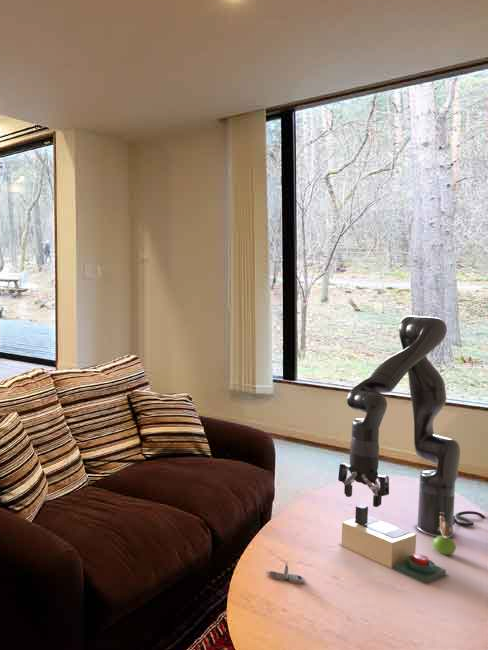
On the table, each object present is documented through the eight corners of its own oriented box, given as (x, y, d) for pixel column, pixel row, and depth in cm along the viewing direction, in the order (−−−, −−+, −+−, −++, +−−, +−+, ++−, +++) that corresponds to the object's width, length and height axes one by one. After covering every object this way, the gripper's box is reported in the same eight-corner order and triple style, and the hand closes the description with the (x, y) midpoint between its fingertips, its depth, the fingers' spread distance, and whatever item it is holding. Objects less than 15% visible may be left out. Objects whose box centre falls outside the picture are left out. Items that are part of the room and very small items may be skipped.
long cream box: (364, 537, 180) (365, 514, 180) (415, 559, 167) (416, 534, 166) (341, 545, 176) (342, 521, 175) (391, 568, 162) (392, 542, 161)
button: (417, 558, 161) (417, 552, 161) (431, 564, 158) (431, 558, 158) (409, 560, 160) (410, 555, 160) (423, 566, 157) (424, 561, 157)
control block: (414, 562, 165) (415, 551, 165) (445, 575, 158) (446, 563, 157) (394, 569, 161) (395, 558, 161) (425, 583, 154) (425, 571, 153)
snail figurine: (450, 549, 172) (452, 513, 171) (457, 559, 166) (460, 521, 165) (429, 546, 174) (431, 510, 173) (435, 555, 168) (437, 518, 167)
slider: (361, 520, 175) (361, 504, 174) (367, 523, 173) (368, 506, 173) (355, 522, 174) (355, 506, 173) (361, 525, 172) (362, 508, 171)
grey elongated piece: (302, 579, 157) (303, 565, 157) (303, 584, 154) (304, 570, 154) (269, 572, 161) (270, 559, 160) (270, 577, 158) (270, 563, 158)
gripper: (395, 457, 166) (393, 507, 168) (349, 444, 179) (347, 491, 181) (380, 460, 163) (378, 512, 165) (334, 447, 176) (332, 495, 178)
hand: (362, 501), depth 173 cm, fingers open, 8 cm apart
